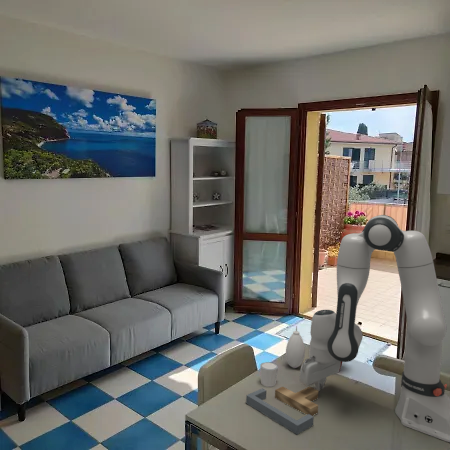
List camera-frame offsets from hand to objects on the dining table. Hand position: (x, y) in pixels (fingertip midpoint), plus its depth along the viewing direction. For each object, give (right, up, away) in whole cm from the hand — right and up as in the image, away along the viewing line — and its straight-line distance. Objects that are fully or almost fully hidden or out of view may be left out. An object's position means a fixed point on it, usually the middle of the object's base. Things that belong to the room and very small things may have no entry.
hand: (319, 389), depth 159 cm
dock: (-16, -3, -14) cm, 21 cm away
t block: (-7, -2, -6) cm, 9 cm away
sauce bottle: (-6, +1, +21) cm, 22 cm away
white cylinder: (-18, 0, +7) cm, 19 cm away
